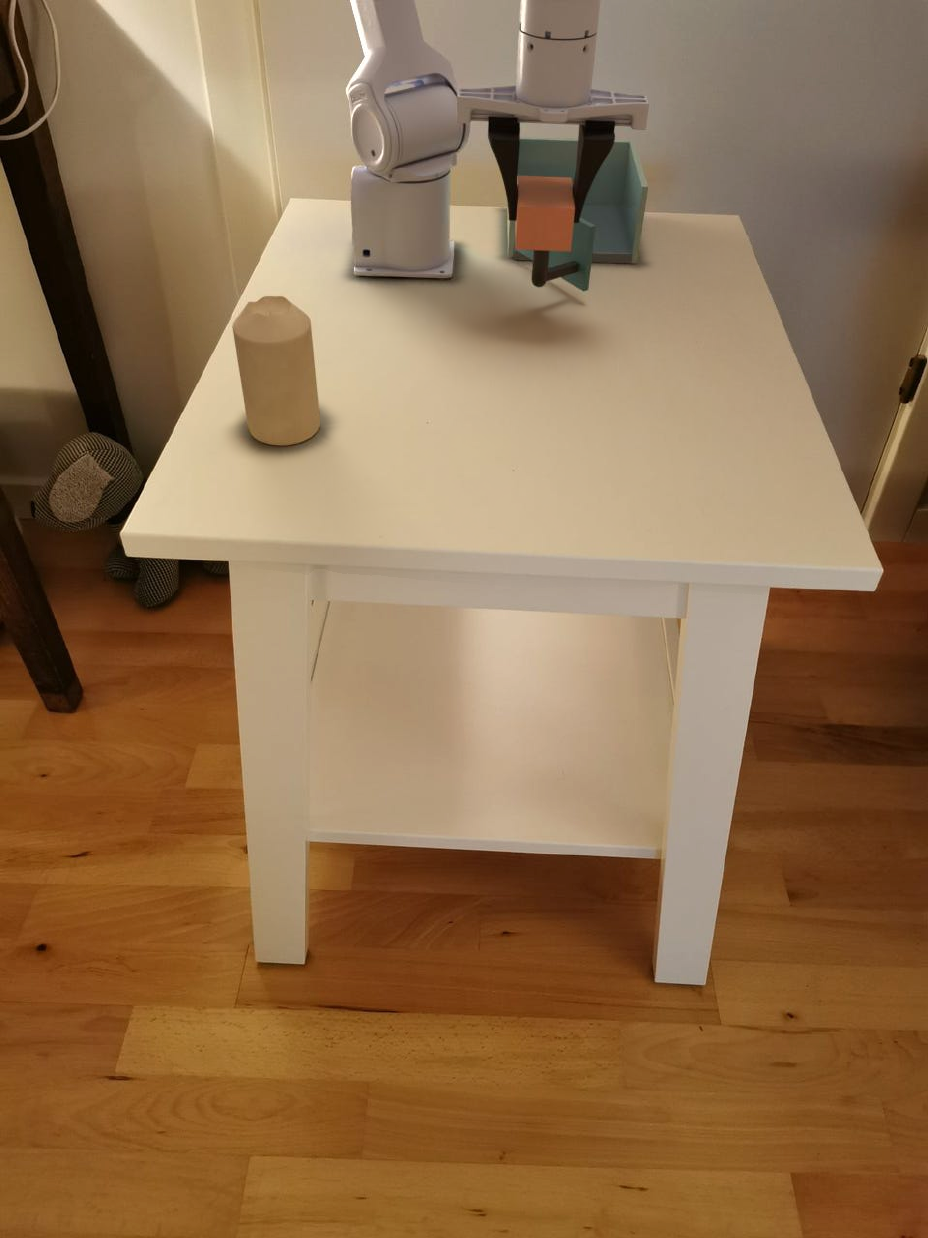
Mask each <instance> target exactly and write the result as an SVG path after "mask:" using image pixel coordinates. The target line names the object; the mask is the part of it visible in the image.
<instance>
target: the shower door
mask: <svg viewBox="0 0 928 1238" xmlns="http://www.w3.org/2000/svg"><path fill="white" fill-rule="evenodd" d="M595 227H596V226H595V225H593V224H591V223H590V222H588V221H586V220H584V219H582V218H580V221H579V223H574V224H573V234H572V244H571V251H546V250H519V249H517V251H518V252H520V253H522V254H523V255H525V256H527V257H528V258H530V259H531V260H530V261H532V264H531V265H532V267H531V283H532V285H533V286H534V287H536V288H543V287H545V285H546V284H547V282H550V281H553V280H555V279H559V278H561V279H562V280H564V281H565V282H567V283H569V284H570V285H572V286H573V287H575V288H577V289H578V290H580V291H582V292H587V291H589V287H590V277H591V270H592V263H593V262H592V253H593V244H594V236H595Z"/></svg>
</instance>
